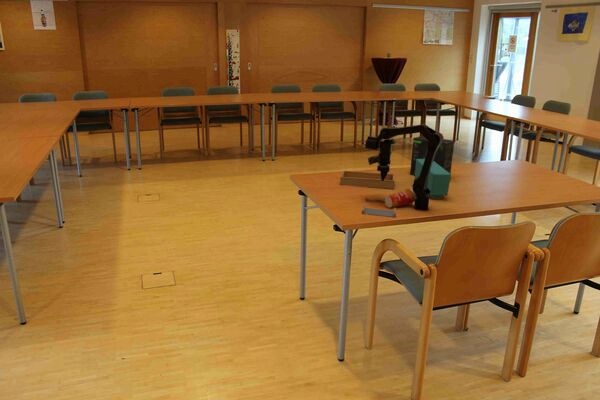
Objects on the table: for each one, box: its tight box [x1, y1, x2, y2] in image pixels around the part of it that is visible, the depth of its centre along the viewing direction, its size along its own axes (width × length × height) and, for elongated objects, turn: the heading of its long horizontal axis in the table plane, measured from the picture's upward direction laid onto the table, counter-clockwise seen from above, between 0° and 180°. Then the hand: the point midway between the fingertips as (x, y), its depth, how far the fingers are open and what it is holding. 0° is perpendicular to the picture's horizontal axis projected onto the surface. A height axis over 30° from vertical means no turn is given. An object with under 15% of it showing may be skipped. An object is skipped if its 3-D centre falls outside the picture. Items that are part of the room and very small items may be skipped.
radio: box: [414, 159, 452, 200], centre depth 292 cm, size 34×10×15 cm, turn 4°
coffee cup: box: [384, 188, 416, 209], centre depth 266 cm, size 8×8×15 cm
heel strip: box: [364, 197, 385, 204], centre depth 271 cm, size 16×2×2 cm, turn 79°
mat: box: [361, 204, 397, 218], centre depth 255 cm, size 16×9×2 cm, turn 79°
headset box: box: [409, 135, 455, 177], centre depth 321 cm, size 22×12×26 cm, turn 49°
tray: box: [339, 170, 396, 190], centre depth 304 cm, size 31×15×6 cm, turn 80°
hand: (382, 180), depth 271 cm, fingers closed
